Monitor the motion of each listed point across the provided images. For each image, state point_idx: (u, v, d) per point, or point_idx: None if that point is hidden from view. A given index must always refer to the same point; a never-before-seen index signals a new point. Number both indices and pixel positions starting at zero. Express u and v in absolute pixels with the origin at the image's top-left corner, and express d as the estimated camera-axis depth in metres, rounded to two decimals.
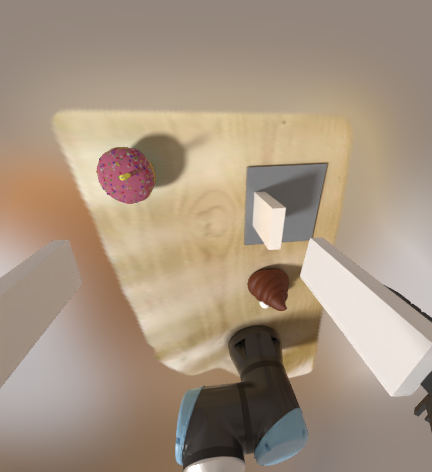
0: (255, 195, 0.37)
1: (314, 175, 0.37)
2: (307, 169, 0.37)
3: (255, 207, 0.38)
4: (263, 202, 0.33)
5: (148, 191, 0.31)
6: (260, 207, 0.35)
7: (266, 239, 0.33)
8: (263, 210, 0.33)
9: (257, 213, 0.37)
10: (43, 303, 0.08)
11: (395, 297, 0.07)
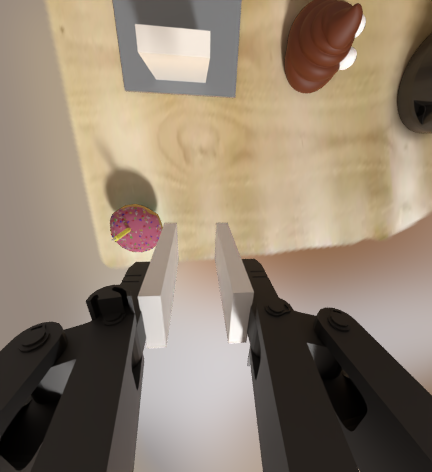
0: (158, 78, 0.27)
1: None
2: None
3: (174, 78, 0.27)
4: (150, 66, 0.23)
5: (147, 214, 0.32)
6: (163, 71, 0.24)
7: (197, 61, 0.21)
8: (161, 66, 0.23)
9: (177, 74, 0.26)
10: (174, 268, 0.11)
11: (242, 265, 0.09)
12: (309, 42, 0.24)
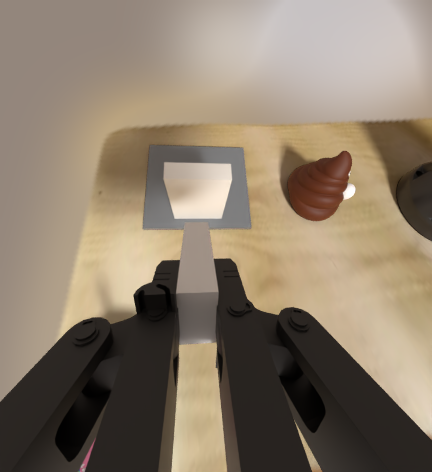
0: (177, 216, 0.29)
1: (160, 155, 0.33)
2: (153, 162, 0.32)
3: (192, 214, 0.28)
4: (172, 199, 0.24)
5: None
6: (183, 205, 0.25)
7: (218, 186, 0.22)
8: (182, 198, 0.24)
9: (196, 209, 0.27)
10: None
11: (214, 265, 0.09)
12: (311, 181, 0.28)
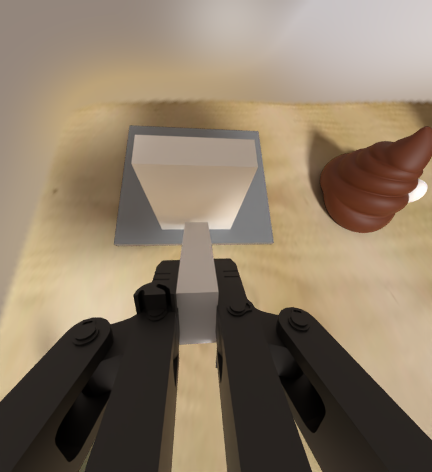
0: (165, 226, 0.19)
1: None
2: None
3: None
4: (154, 202, 0.15)
5: None
6: (173, 210, 0.16)
7: (232, 179, 0.12)
8: (171, 200, 0.15)
9: (193, 217, 0.17)
10: None
11: (214, 265, 0.09)
12: (363, 175, 0.19)
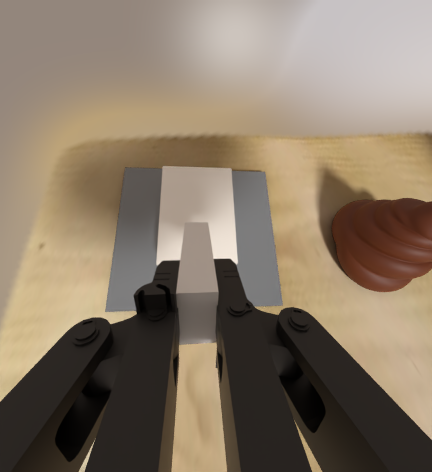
0: (162, 254, 0.17)
1: (141, 184, 0.21)
2: (129, 196, 0.21)
3: None
4: (164, 204, 0.19)
5: None
6: (177, 217, 0.18)
7: (219, 177, 0.20)
8: (178, 201, 0.19)
9: None
10: None
11: (213, 265, 0.09)
12: (384, 237, 0.17)
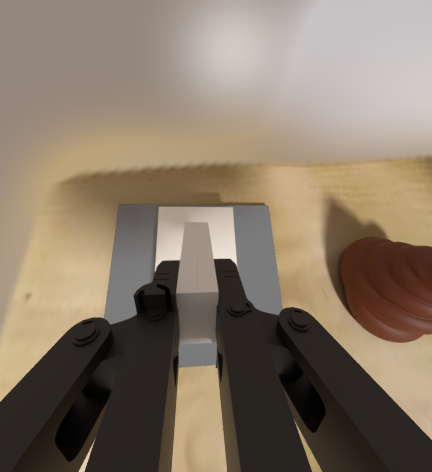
0: None
1: (136, 223, 0.20)
2: (123, 237, 0.19)
3: None
4: (160, 251, 0.17)
5: None
6: None
7: (220, 218, 0.19)
8: (175, 247, 0.17)
9: None
10: None
11: (213, 265, 0.09)
12: (400, 292, 0.15)
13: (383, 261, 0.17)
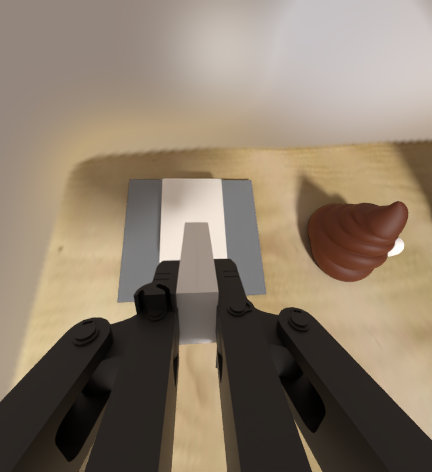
0: (164, 253, 0.20)
1: (144, 193, 0.25)
2: (134, 204, 0.24)
3: None
4: (164, 211, 0.22)
5: None
6: (175, 222, 0.22)
7: (211, 187, 0.24)
8: (176, 208, 0.22)
9: None
10: None
11: (214, 265, 0.09)
12: (345, 236, 0.20)
13: (336, 216, 0.22)
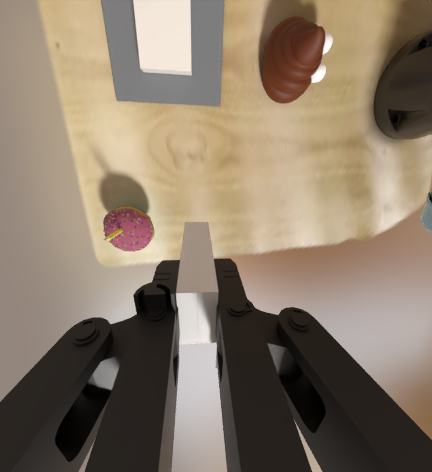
0: (142, 60, 0.27)
1: None
2: None
3: (159, 57, 0.27)
4: (137, 9, 0.25)
5: (138, 215, 0.34)
6: (148, 26, 0.25)
7: None
8: (147, 7, 0.25)
9: (162, 40, 0.26)
10: None
11: (213, 265, 0.09)
12: (281, 58, 0.26)
13: (284, 35, 0.26)
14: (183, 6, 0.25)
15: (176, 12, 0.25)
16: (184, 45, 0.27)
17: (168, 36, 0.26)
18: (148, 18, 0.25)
